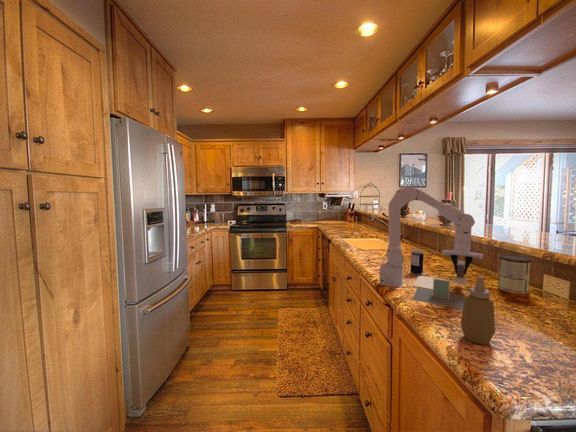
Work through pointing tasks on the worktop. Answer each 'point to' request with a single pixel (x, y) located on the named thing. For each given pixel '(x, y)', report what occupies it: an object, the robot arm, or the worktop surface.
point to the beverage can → (417, 262)
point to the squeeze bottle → (478, 314)
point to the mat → (439, 299)
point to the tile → (441, 287)
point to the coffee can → (514, 274)
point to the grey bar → (460, 274)
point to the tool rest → (424, 282)
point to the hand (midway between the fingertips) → (460, 273)
